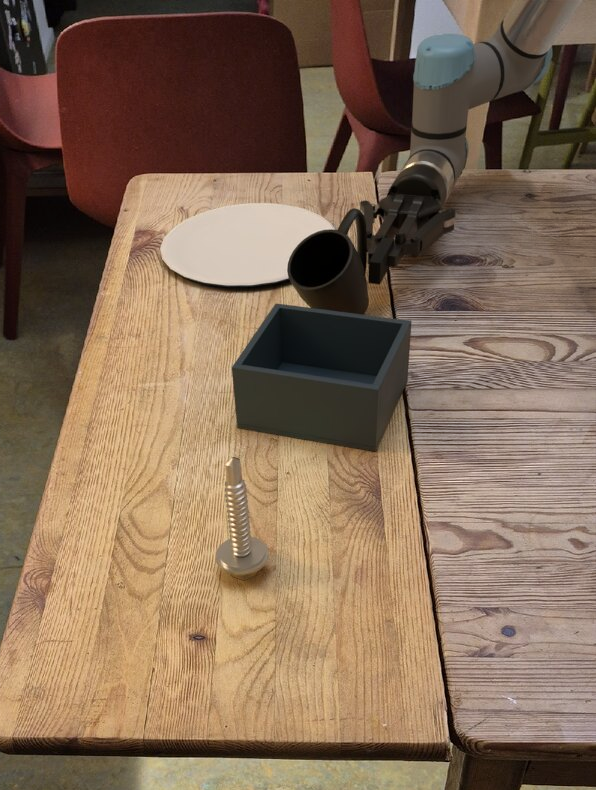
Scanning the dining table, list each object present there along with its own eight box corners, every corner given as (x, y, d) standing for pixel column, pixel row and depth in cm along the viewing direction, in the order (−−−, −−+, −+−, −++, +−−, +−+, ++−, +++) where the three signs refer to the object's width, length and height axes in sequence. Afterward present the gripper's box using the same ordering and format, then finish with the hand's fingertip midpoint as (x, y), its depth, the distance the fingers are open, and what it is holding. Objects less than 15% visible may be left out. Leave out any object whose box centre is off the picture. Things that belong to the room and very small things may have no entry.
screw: (217, 590, 84) (218, 553, 87) (270, 587, 84) (269, 551, 87) (202, 477, 75) (204, 441, 78) (262, 474, 74) (261, 438, 78)
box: (278, 362, 110) (275, 303, 104) (407, 381, 105) (411, 320, 100) (237, 428, 101) (231, 367, 96) (375, 451, 97) (378, 389, 91)
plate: (329, 204, 139) (329, 195, 138) (347, 285, 121) (347, 276, 120) (163, 216, 139) (162, 208, 138) (157, 299, 122) (156, 290, 121)
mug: (408, 263, 113) (384, 210, 105) (355, 344, 112) (327, 298, 104) (356, 246, 117) (329, 195, 109) (305, 325, 117) (273, 279, 108)
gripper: (465, 223, 127) (425, 308, 112) (372, 215, 130) (322, 295, 115) (470, 167, 121) (430, 248, 106) (374, 159, 125) (321, 237, 110)
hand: (374, 273), depth 111 cm, fingers closed
